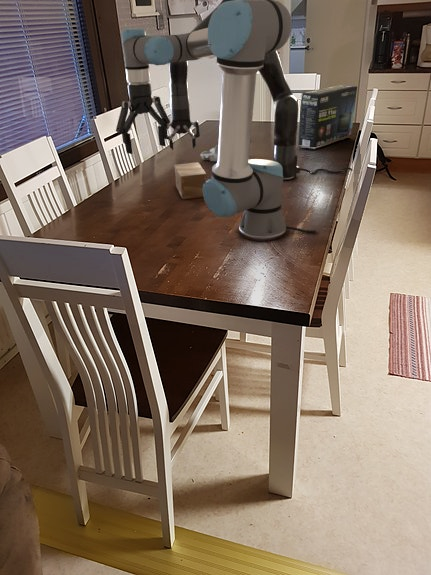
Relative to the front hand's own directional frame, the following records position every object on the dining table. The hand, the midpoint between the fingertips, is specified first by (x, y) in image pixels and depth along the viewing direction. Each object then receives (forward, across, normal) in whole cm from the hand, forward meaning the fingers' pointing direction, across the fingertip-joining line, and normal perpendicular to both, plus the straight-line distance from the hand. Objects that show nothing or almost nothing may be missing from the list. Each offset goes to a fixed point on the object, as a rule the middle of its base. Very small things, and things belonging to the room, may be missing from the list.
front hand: (146, 149), depth 160 cm
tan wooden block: (+22, -22, -5) cm, 32 cm away
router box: (+22, -119, -14) cm, 122 cm away
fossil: (+22, -60, -33) cm, 72 cm away
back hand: (+8, -27, -15) cm, 32 cm away
